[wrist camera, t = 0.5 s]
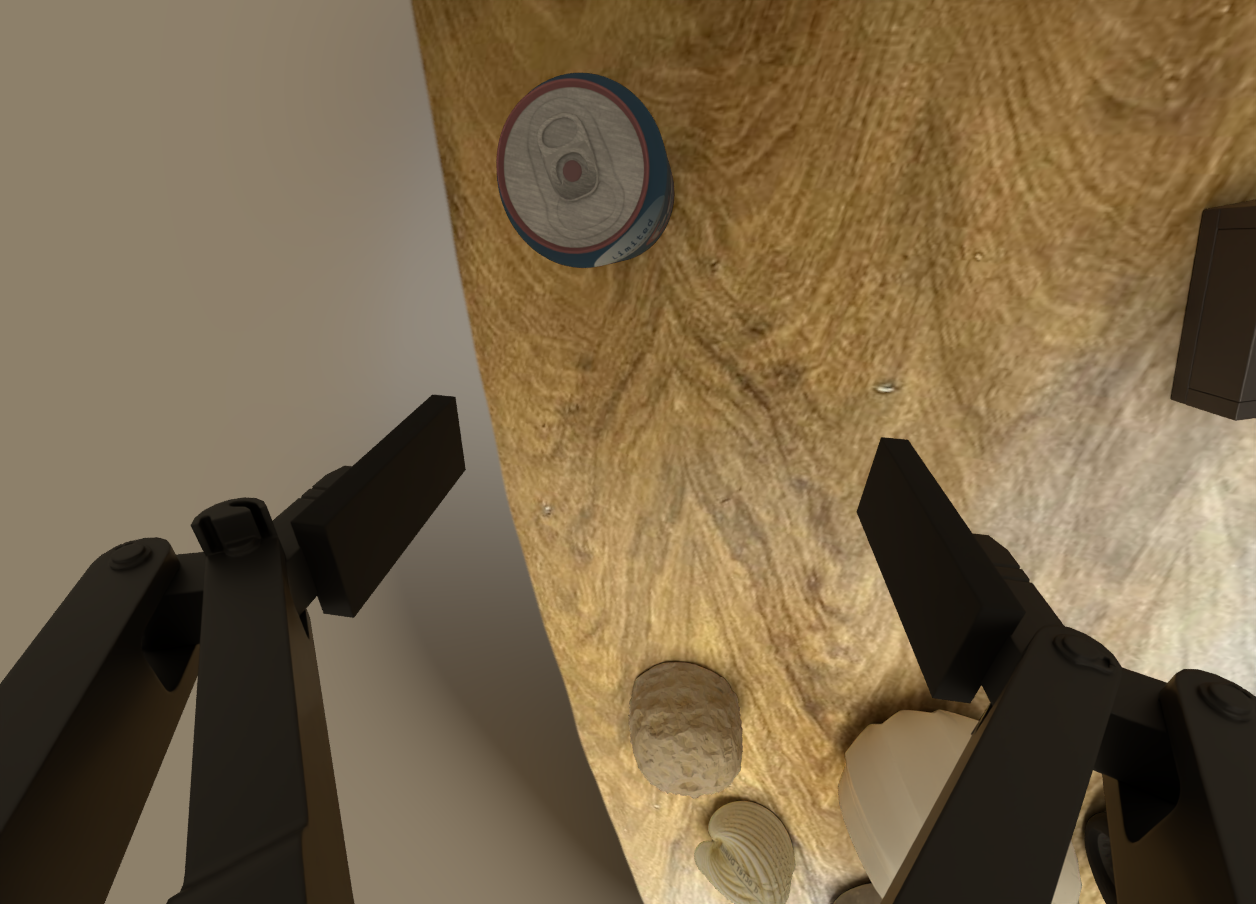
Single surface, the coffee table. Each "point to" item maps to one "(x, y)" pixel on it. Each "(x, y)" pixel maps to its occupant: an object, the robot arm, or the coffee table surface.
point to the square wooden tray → (1221, 317)
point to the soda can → (584, 172)
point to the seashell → (747, 855)
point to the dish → (860, 895)
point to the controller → (1101, 856)
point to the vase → (909, 791)
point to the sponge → (685, 729)
